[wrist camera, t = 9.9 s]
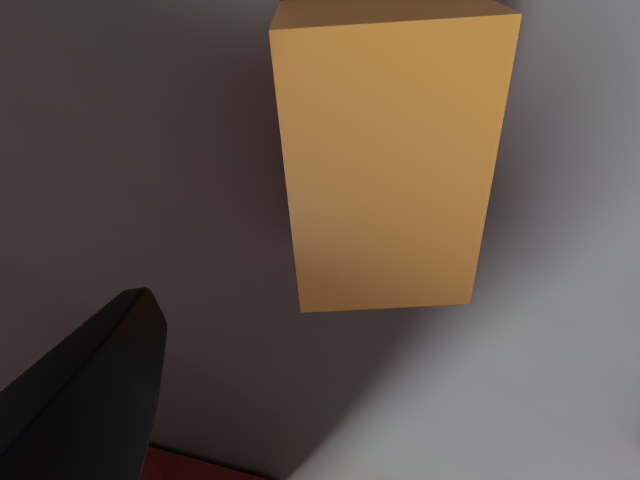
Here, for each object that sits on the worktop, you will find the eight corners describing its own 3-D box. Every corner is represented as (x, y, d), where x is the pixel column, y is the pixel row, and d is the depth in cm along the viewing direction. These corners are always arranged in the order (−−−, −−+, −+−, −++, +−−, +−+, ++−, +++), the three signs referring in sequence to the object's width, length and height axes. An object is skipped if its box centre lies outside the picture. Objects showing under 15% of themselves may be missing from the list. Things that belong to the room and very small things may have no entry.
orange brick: (302, 235, 15) (300, 313, 12) (280, -1, 11) (268, 30, 8) (439, 228, 15) (469, 304, 12) (466, -13, 11) (522, 13, 8)
